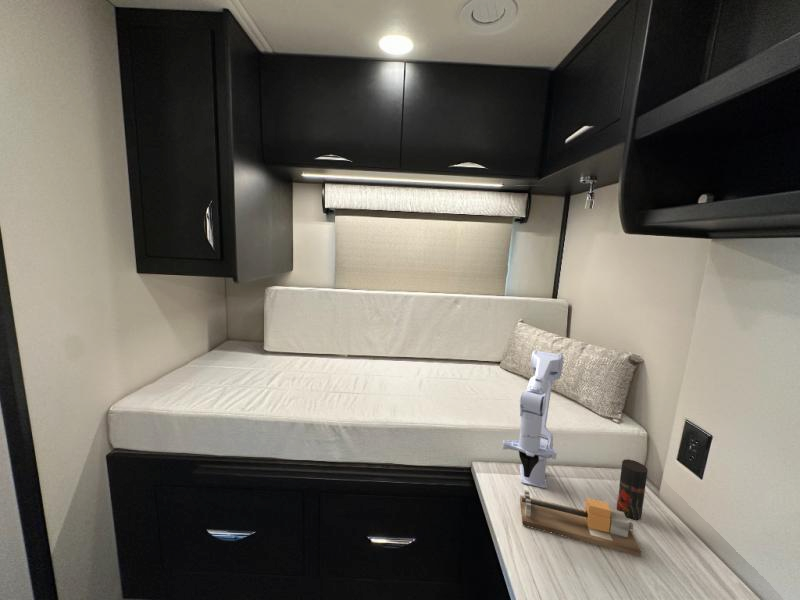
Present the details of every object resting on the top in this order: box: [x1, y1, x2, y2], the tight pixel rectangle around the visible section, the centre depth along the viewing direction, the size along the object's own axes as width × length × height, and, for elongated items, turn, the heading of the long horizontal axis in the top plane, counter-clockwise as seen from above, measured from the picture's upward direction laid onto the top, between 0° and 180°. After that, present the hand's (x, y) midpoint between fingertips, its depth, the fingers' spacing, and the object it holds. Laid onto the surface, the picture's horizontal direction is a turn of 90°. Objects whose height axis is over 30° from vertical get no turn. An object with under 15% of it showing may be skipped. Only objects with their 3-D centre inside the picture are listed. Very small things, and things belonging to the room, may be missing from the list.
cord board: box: [519, 490, 642, 557], centre depth 86 cm, size 10×28×6 cm, turn 72°
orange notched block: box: [584, 497, 611, 533], centre depth 84 cm, size 4×5×6 cm
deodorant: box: [616, 458, 649, 521], centre depth 91 cm, size 6×6×15 cm
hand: (526, 475), depth 92 cm, fingers closed
